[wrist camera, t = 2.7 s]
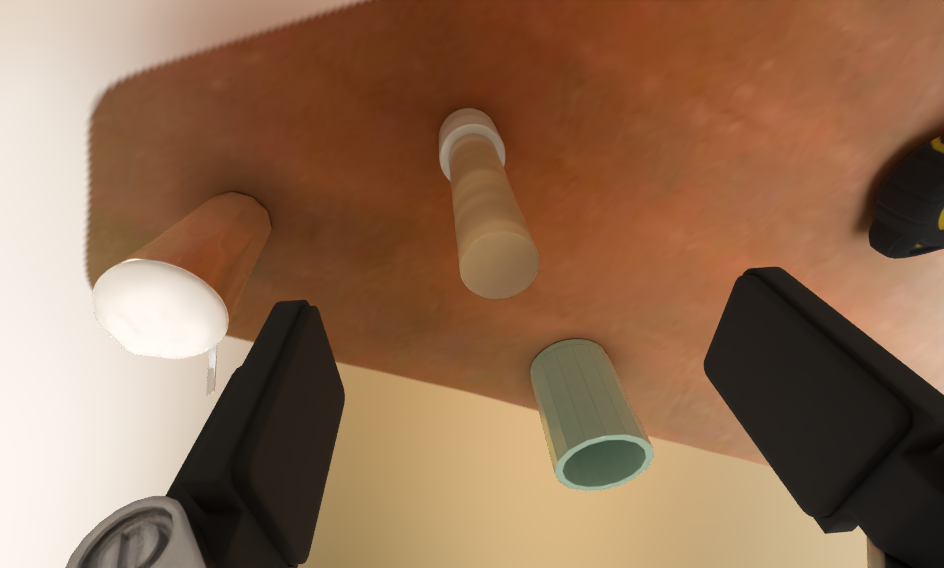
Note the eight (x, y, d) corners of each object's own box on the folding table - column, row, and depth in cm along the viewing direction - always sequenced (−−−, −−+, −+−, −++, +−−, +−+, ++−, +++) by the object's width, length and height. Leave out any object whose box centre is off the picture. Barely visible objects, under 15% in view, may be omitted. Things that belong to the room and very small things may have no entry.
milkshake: (257, 277, 25) (172, 417, 17) (175, 210, 22) (24, 339, 14) (313, 238, 23) (251, 369, 15) (234, 162, 21) (107, 272, 13)
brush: (426, 137, 21) (421, 267, 11) (469, 93, 20) (507, 194, 10) (466, 179, 22) (493, 326, 12) (508, 139, 21) (575, 267, 11)
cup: (514, 368, 31) (535, 468, 25) (579, 325, 29) (622, 421, 23) (559, 403, 34) (589, 500, 27) (621, 365, 32) (670, 461, 25)
